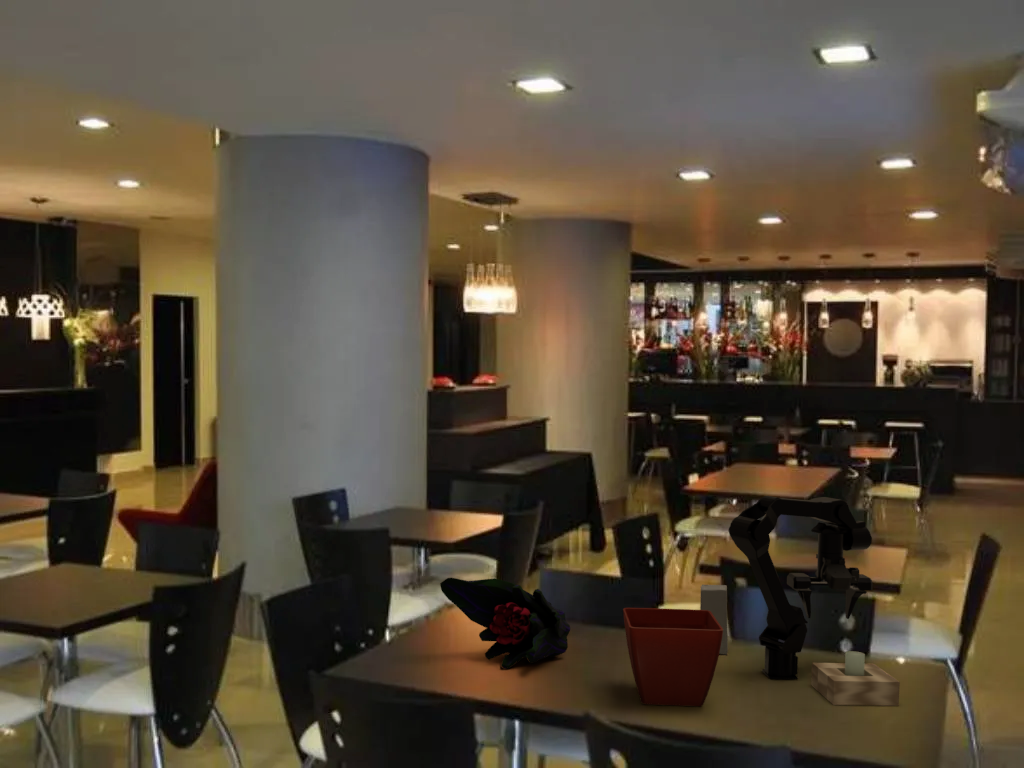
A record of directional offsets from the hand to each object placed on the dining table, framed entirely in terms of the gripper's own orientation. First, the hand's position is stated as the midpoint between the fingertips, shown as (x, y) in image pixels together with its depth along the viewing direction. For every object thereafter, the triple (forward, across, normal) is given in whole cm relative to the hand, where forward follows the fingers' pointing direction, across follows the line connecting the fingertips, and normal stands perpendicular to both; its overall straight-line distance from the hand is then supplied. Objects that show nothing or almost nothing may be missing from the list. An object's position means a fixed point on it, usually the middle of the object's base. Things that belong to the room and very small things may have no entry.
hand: (828, 618), depth 257 cm
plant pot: (+12, -42, -23) cm, 49 cm away
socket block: (+12, -1, -20) cm, 23 cm away
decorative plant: (+12, -73, +2) cm, 74 cm away
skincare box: (+12, -23, +16) cm, 31 cm away
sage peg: (+12, -1, -20) cm, 23 cm away
